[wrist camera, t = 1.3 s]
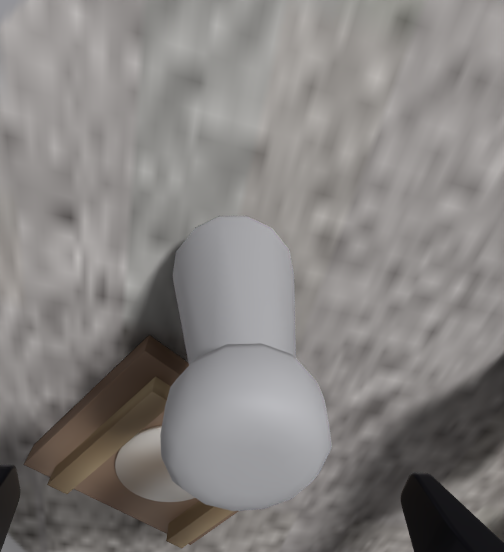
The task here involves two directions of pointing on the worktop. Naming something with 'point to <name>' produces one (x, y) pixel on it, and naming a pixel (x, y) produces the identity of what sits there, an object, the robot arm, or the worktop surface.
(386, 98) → the worktop surface
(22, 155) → the worktop surface
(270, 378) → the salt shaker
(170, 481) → the stand
